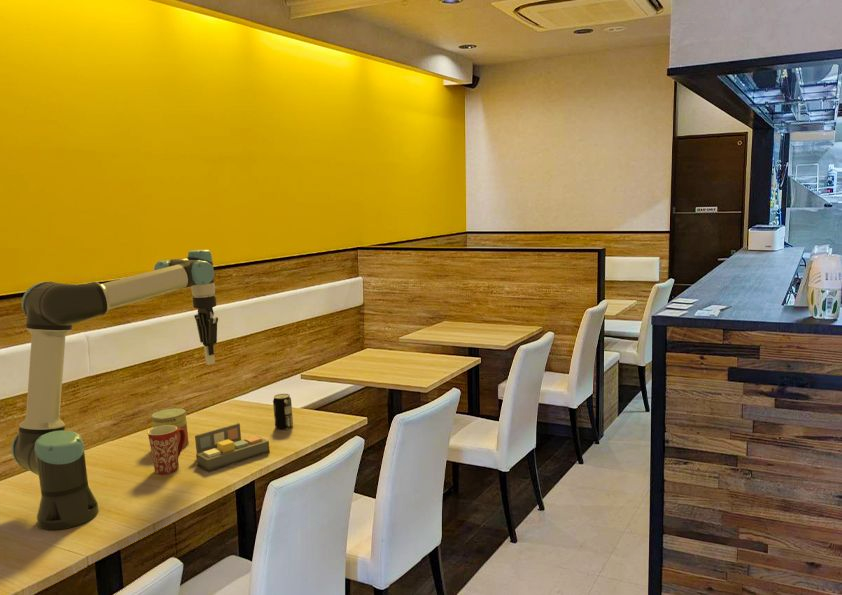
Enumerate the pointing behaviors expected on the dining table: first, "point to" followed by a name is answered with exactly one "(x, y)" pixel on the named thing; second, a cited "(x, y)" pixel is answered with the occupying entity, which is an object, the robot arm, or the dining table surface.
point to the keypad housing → (232, 456)
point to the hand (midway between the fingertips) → (210, 363)
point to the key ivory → (211, 453)
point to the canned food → (172, 421)
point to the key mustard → (225, 446)
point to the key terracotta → (253, 440)
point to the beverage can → (282, 411)
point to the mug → (165, 447)
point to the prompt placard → (217, 437)
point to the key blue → (240, 444)
